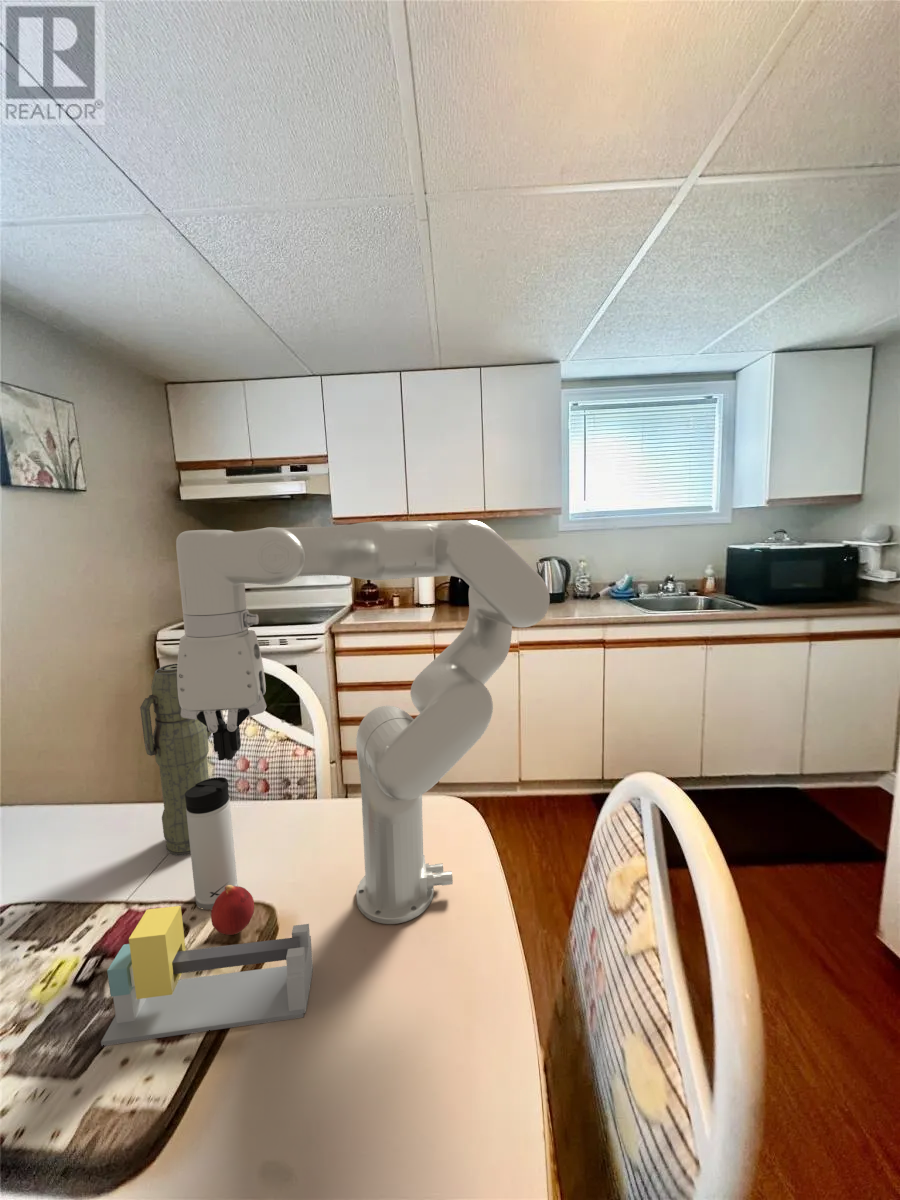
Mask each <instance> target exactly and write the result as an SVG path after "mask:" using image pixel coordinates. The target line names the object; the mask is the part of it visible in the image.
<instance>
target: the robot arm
mask: <svg viewBox="0 0 900 1200" xmlns="http://www.w3.org/2000/svg"><path fill="white" fill-rule="evenodd" d="M175 540H176V541H175V543H176V544H175V546H176V548H175V550H176V556H177V558H176V559H177V560H176V561H177V569H178V577H179V578H178V579H179V588H180V598H181V608H182V609H181V610H182V619H183V629H184V635H183V636H181V637H180V638H179V644H178V651H177V652H178V654H177V663H176V664H177V688H178V699H179V704H180V706H181V716H182V717H183V718H188V719H195V720H196V719H198V720H199V721H200V722H201V723H203V724H204V725H205V726H207V727H208V730H209V731H210V732H211V733H212V740H213V750H214V753H217V757H218V758H217V760H218V761H224V760H225V759H226V761H230V760H231V761H232V760H233V758H234V757H235V755H236V754H237V752H238V751H239V750H240V749H241V746H242V743H241V741H242V740H241V731H240V730H241V729H240V726H241V724H242V723H243V722H244V721H245V720H246V719H247V718H249V717H252V716H255V715H259V714H262V713H264V712H265V711H266V708H267V703H266V700H265V698H264V695H265V694H266V689H267V688H266V687H267V685H266V677H265V670H264V664H263V663H264V662H263V658H262V653H261V647H260V644H259V641H258V636H257V634H256V632H255V630H252V629H249V628H250V627H251V626H253V625H258V624H259V621H260V620H259V619H260V618H259V615H258V614H257V613H256V614H253V613H250V611H249V609H248V608H247V600H246V599H247V598H246V597H247V596H246V589H245V588H246V586H245V584H250V585H264V586H265V585H266V586H279V585H284V584H287V583H289V582H291V581H293V580H295V579H296V578H297V577H298V578H299V577H312V576H314V577H315V576H317V577H319V576H337V577H338V576H339V577H349V578H355V579H361V580H367V581H383V580H384V581H386V580H387V581H388V580H401V579H414V578H431V577H433V578H434V577H450V576H451V577H455V578H459V579H462V580H463V581H464V582H465V583H466V584H467V585H468V586H469V588H468V605H469V606H468V607H469V608H468V617H467V621H466V624H465V626H464V628H463V630H462V631H461V632H460V633H459V634H458V636H457V637H456V638H455V639H454V640H453V641H452V642H451V643H450V644H449V645H448V646H447V647H446V648H445V649H444V650H442V652H441V653H439V654H438V656H436V657H435V658H434V659H433V660H432V662H430V663H429V664H428V665H427V666H425V668H423V669H422V671H420V672H419V673H418V675H417V676H416V677H415V679H413V682H412V684H411V687H410V697H411V698H410V699H411V702H412V703H413V705H414V707H415V708H416V710H417V711H418V712H419V714H418V715H417V716H416V717H415V718H413V716H411V714H409V713H408V712H406V711H405V710H403V709H402V708H400V707H397V706H394V705H382V706H381V705H380V706H378V707H375V708H374V709H372V710H370V711H369V712H368V713H367V714H366V715H365V716H364V717H363V719H362V720H361V722H360V723H359V725H358V729H357V732H356V738H355V741H356V742H355V744H356V745H355V747H356V754H357V756H356V758H357V764H358V770H359V778H360V779H359V780H360V792H361V806H362V807H361V812H362V832H363V837H362V838H363V853H364V876H363V877H362V878H361V879H360V881H359V883H358V885H357V889H356V894H355V895H356V903H357V904H356V905H357V907H358V910H359V911H360V912H361V914H363V916H364V917H365V918H367V919H369V920H371V921H373V922H376V923H378V924H383V925H385V924H386V925H396V924H401V923H406V922H409V921H411V920H413V919H415V918H417V917H419V916H420V915H421V914H423V913H424V912H425V911H426V910H427V909H428V907H430V904H431V903H432V900H433V898H434V891H435V889H434V888H435V886H449V885H453V882H454V881H453V872H452V870H447V871H444V864H443V863H441V862H440V863H435V864H429V862H428V863H426V858H425V857H426V856H425V854H424V831H423V823H424V822H423V795H424V794H425V793H427V792H429V790H431V789H432V788H433V787H434V786H435V785H436V784H438V782H440V780H441V779H443V777H444V776H445V775H446V774H447V773H448V772H449V771H450V770H451V769H452V768H454V766H455V765H456V764H457V763H458V762H459V761H460V760H461V759H462V758H463V757H464V756H466V754H467V753H468V752H469V751H470V750H471V748H473V747H474V746H475V745H476V743H477V742H479V740H480V739H481V738H482V736H483V735H484V734H485V732H486V731H487V729H488V727H489V724H490V723H491V719H492V717H493V711H494V710H493V709H494V703H493V699H492V694H491V693H490V691H489V689H488V688H487V686H485V685H486V684H487V682H488V681H489V680H490V678H492V676H493V675H495V674H496V673H497V671H498V670H499V669H500V667H501V666H502V665H503V664H504V662H505V660H506V658H507V657H508V654H509V652H510V647H511V642H512V634H513V633H512V632H513V627H515V628H529V627H532V626H534V625H537V624H538V623H540V622H542V621H541V620H543V619H544V618H545V617H546V614H547V613H548V611H549V608H550V601H551V600H550V595H551V594H550V592H549V588H548V586H547V584H546V582H545V580H544V579H543V577H541V575H540V574H539V572H537V571H536V570H535V569H534V568H533V567H532V566H531V565H530V564H529V563H528V562H527V561H526V560H525V559H524V558H523V557H522V556H521V555H520V554H519V553H518V552H517V551H516V550H515V549H514V548H513V547H512V546H511V545H510V544H509V543H508V542H507V541H506V540H505V539H503V537H502V536H501V535H499V534H498V533H497V532H496V531H495V530H494V529H493V528H491V527H490V526H489V525H487V524H485V523H483V521H478V520H475V519H465V520H464V519H463V520H460V519H459V520H457V519H456V520H419V521H418V520H416V521H415V520H414V521H413V520H412V521H411V520H410V521H409V520H408V521H407V520H406V521H369V522H366V521H365V522H358V523H353V524H346V525H335V526H334V525H333V526H312V527H311V526H307V527H306V526H304V527H272V526H271V527H270V526H268V527H264V528H258V529H251V530H244V531H233V530H227V529H197V530H195V529H194V530H193V529H192V530H185V531H183V532H180V533H179V534H178V536H177V537H176V539H175ZM223 711H227V722H226V721H225V718H224V713H223Z"/></svg>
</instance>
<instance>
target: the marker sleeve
mask: <svg viewBox="0 0 900 1200" xmlns="http://www.w3.org/2000/svg"><path fill="white" fill-rule="evenodd" d="M128 944H129V945H130V953H131V960H132V968H133V975H134V983H135V991H136V998H137V999H142V998H150V997H157V996H165V995H172V994H173V992H174V990H175V987H176V985H177V983H178V981H179V980H181V979H180V978H181V977H182V974H183V973H179V974H173V966H172V962H173V960H174V958H175V956H176V954H177V952H178V951H186V950H187V949H186V940H185V932H184V923H183V913H182V906H181V905H175V906H165V907H157V908H148V909H146V910H145V912H144V914H143V915H142V917H141V919H140V920H139V921H138V923H137V925H136V927H135V928H134V930H133V931H132V933H131V935H129V938H128Z"/></svg>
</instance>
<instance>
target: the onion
mask: <svg viewBox="0 0 900 1200" xmlns="http://www.w3.org/2000/svg"><path fill="white" fill-rule="evenodd" d="M225 889H226V890H224V891H223V892H222V893H221V894H220V895H219V896H218V897H217V899H216V901H215V903H214V905H213V908H212V910H210V918H211V920H210V921H211V924H212V927H213V928H214V929H215V930H216V931H217V932H218V933H220V934H222V935H231V936H234V934H235V935H237V934H238V933H239V934H240V932H242V931H243V930H244V929H245V928H247V926H249V923H250V922H251V920H252V918H253V916H254V912H255V901H254V897H253V895H252V894H251V893H250V891H248V890H247V889H246V888H245V887H242V886H239V885H238V886H232V885H227V886H226V887H225Z"/></svg>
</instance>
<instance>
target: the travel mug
mask: <svg viewBox="0 0 900 1200" xmlns="http://www.w3.org/2000/svg"><path fill="white" fill-rule="evenodd" d="M195 785H196V786H194V787H192V788H190V789H189V790H187V791H186V793H185V800H186V812H187V823H188V832H189V842H190V851H191V854H190V861H191V869H192V870H191V871H192V878H193V887H194V888H193V889H194V895H195V896H194V898H195V899H194V900H195V904H196V906H197V907H198V908H199V907H200V908H199V909H201V908H203V909H212V908H213V905H214V903H215V901H216V899H217V897H218V896H219V895H220V894H221V893H222V892H223V891H224V890H226V889H225V887H226V886H227V885H232V886H239V885H238V875H237V865H236V863H237V862H236V855H235V844H234V843H235V842H234V832H233V831H234V830H233V820H232V810H231V800H230V799H231V798H230V794H229V793H230V791H229V781H228V778H226V777H223V776H222V777H221V776H218V777H212V778H209V779H207V780H204V781H201V782H199V783H197V784H195ZM203 909H202V910H203Z"/></svg>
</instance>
